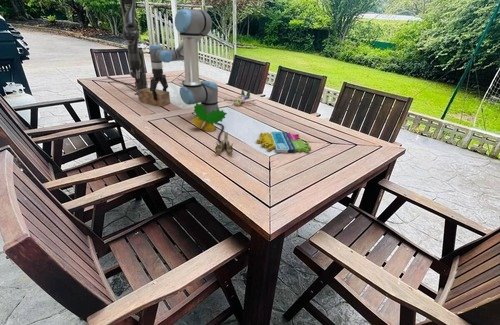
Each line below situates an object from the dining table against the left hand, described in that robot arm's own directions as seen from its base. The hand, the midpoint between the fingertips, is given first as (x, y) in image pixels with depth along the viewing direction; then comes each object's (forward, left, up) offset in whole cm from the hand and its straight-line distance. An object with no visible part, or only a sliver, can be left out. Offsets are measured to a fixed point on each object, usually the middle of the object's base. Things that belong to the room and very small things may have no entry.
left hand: (137, 83), depth 203 cm
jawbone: (+111, +18, -13) cm, 113 cm away
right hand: (+17, +12, -8) cm, 22 cm away
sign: (+116, +53, -13) cm, 128 cm away
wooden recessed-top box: (+13, +9, -13) cm, 20 cm away
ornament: (+79, +24, -13) cm, 83 cm away
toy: (+35, +74, -13) cm, 83 cm away
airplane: (-28, +56, -13) cm, 64 cm away
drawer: (+8, +5, -12) cm, 15 cm away
